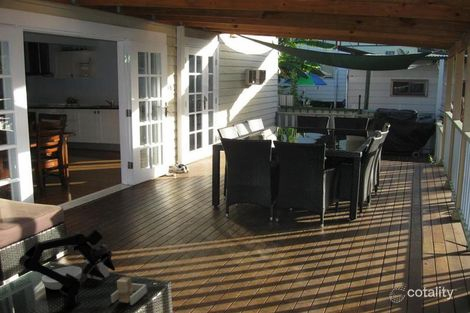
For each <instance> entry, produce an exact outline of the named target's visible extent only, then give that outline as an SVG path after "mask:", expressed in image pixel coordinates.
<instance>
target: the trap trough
mask: <svg viewBox="0 0 470 313" xmlns="http://www.w3.org/2000/svg"><path fill="white" fill-rule="evenodd" d="M132 290H133V295H132V296H130V297H129V298H130V302H129V303H130V306H133V305H135V304H136V303H137V302H139V300H140V299H141V298H143V297H144V296H145V295H146V294H147V293H149V292H148V284H144V283H133V282H132ZM110 301H111V303H112V304H113V303H115V302H117V301H119V295H118V289H117V290H116V291H114V292H113V293H112V294H110Z"/></svg>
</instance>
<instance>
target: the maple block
mask: <svg viewBox="0 0 470 313" xmlns="http://www.w3.org/2000/svg"><path fill="white" fill-rule="evenodd" d="M132 283H133V282H132V277H128V276H127V277H126V276H122V277H120V278H119V279H118V280H116V286H117V290H118V295H119V299H118V302H119V303H124V304H125V303H126V304H129V303H130V298H129V297H130V296H132V295H133V290H132Z"/></svg>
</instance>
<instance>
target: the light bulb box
mask: <svg viewBox="0 0 470 313" xmlns="http://www.w3.org/2000/svg"><path fill="white" fill-rule="evenodd" d="M84 261H85V266H86V265H87V264H88V263H89V262H88V261H87V260H84ZM97 267H98V270H99V271H100V272H101V273H102V274H103V275H104V277H105V278H104V279H106V278H108V277H109V276H110V268H108V267H107V266H105V265H103V263H102V262H100V263H99V264H97ZM87 278H88V279H93V280H98V281H103V280H102V278H99V277H96V276H93V275H88V274H87Z"/></svg>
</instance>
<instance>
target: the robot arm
mask: <svg viewBox="0 0 470 313" xmlns="http://www.w3.org/2000/svg"><path fill="white" fill-rule="evenodd" d="M103 239H104V236H103V235H102V234H101V233H100V232H98V230H97V229H93V230H92V231H91V232H90V233H89V234H88V235H84V234H83V233H80V232H78V231H72V232H70V233H67V234H65V235H64V236H61V237H57V238H56V237H55V238H52V239H47V240H42V241H37V242H35V243H34V244H33V245H32V246H31V247H30V248H29V249H28V250H27V251H25V253H24V254H23V255H22V256H20V258H19V259H18V265H19V266H20V267H22V268H24V269H25V270H27V271H31V272H36V273H39V274H42V276H43V275H45V276H47V277H49V278H51V279H53V280H56V281H58V282H59V283H60V284H61V285H63V286H62V287H61V289H59V292H60V294H62V300H63V301H62V302H63V305H62V307H61V308H62V309H67V310H68V309H70V310H74V308H76V307H78V306H79V305H80V304H81V301H79V298H78V297H79V296H78V294H79V291H80V287H81V281H80V280H79V281H78V278H76V277H74V276H72V275H70V274H68V273H66V276H65V275H61V274H59V273H57V272H55V271H53V270H54V269H51V268H49V267H47V266H45V265H43V264H42V263H41V262H40V260H41V258H42V254H43V253H44V251H47V250H52V249H56V248H61V247H64V246H72V249H73V252H72V253H73V254H74V253H76V252H78V253H79V254H80V255H82V256H83V261H85V260H87V261H88V262H89V263H88V264H87V265H86V264H85V266H84V267H83V268H82V274H84V275H85V276H86V275H87V274H88V275H93V276H96V277H99V278H102V279H103V280H104V279H106V278H105V277H104V275H103V274H102V273H101V272H100V271H99V270H98V267H97V264H99V263H100V262H102V263H103V265H105V266H107V267H108V268H109V270H111V271H113V272H115V271H116V268H115V266H114V264H113V261H112V256H113V252H112V251H111V250H108V249H109V248H108V246H107V245H106V244H102V245H100V246H99V249H97V248H93V247H96V246H97V245H98V244H100V242H102V241H103ZM88 275H87V276H88Z"/></svg>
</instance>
